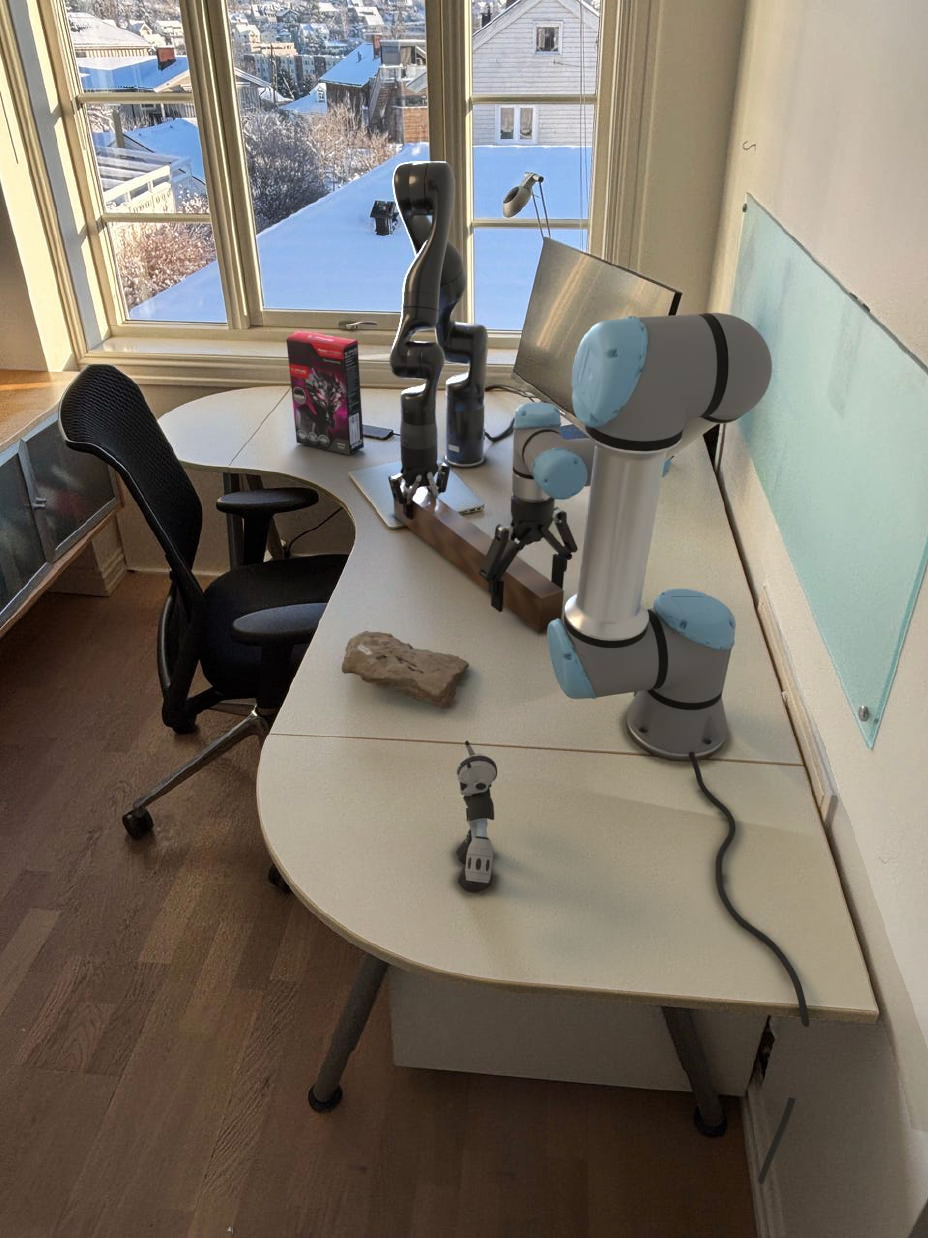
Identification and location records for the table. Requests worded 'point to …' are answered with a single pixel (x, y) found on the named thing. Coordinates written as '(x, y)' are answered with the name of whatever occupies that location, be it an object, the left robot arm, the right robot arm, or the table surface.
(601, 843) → the table surface
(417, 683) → the stone
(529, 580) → the beam
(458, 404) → the left robot arm
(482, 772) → the robot
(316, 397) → the graphics card box
